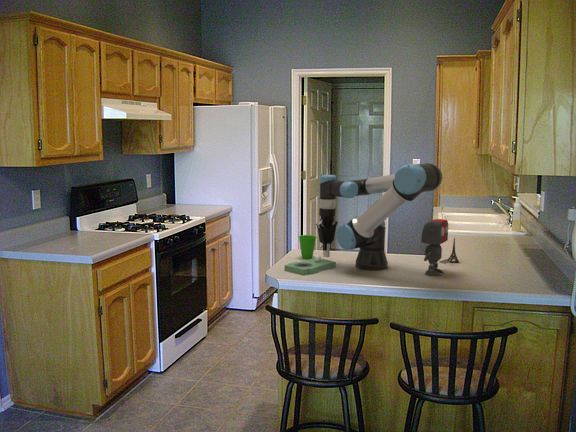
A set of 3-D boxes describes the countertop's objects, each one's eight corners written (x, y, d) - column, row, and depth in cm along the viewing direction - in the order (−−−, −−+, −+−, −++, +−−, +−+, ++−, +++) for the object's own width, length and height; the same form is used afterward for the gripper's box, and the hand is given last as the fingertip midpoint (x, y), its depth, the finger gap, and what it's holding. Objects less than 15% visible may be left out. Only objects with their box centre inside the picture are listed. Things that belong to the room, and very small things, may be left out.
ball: (322, 261, 265) (322, 255, 265) (318, 262, 263) (318, 256, 262) (317, 260, 267) (317, 254, 267) (312, 261, 265) (313, 255, 265)
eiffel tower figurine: (450, 258, 287) (451, 232, 285) (469, 262, 280) (470, 235, 278) (435, 263, 276) (436, 236, 274) (454, 267, 269) (455, 239, 267)
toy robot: (435, 279, 244) (439, 211, 239) (415, 276, 248) (418, 209, 244) (450, 269, 262) (453, 205, 257) (431, 267, 267) (433, 203, 262)
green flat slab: (315, 262, 275) (315, 257, 274) (337, 267, 265) (337, 262, 264) (282, 270, 259) (283, 264, 259) (305, 275, 249) (305, 270, 249)
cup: (314, 260, 278) (315, 238, 277) (296, 259, 280) (296, 237, 278) (317, 256, 287) (317, 235, 285) (299, 255, 289) (300, 234, 287)
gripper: (330, 205, 273) (329, 253, 277) (312, 208, 264) (311, 257, 268) (342, 207, 268) (341, 256, 271) (324, 210, 259) (322, 260, 262)
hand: (326, 256), depth 270 cm, fingers closed
